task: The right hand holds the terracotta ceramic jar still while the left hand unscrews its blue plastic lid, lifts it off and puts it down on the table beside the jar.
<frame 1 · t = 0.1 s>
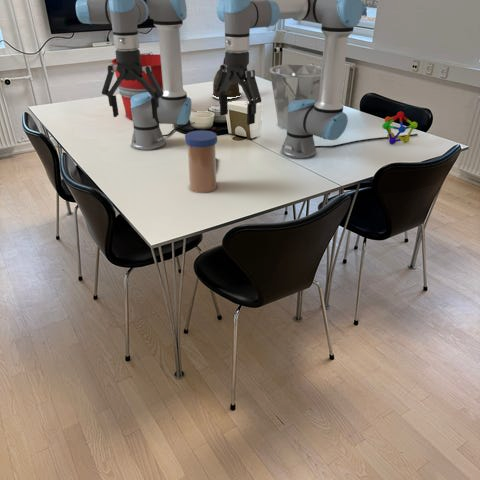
left hand: (135, 116, 150), 28 cm above the table, tool pointing down, fingers open, 13 cm apart
right hand: (237, 119, 148), 28 cm above the table, tool pointing down, fingers open, 13 cm apart
educational toy: (395, 143, 211), on the table
bell: (226, 97, 281), on the table
smartphone: (207, 166, 186), on the table
bucket: (295, 125, 233), on the table
jar: (203, 187, 168), on the table
lid: (201, 136, 158), point 20 cm above the table, screwed on, not yet turned
bucket 2: (148, 114, 248), on the table
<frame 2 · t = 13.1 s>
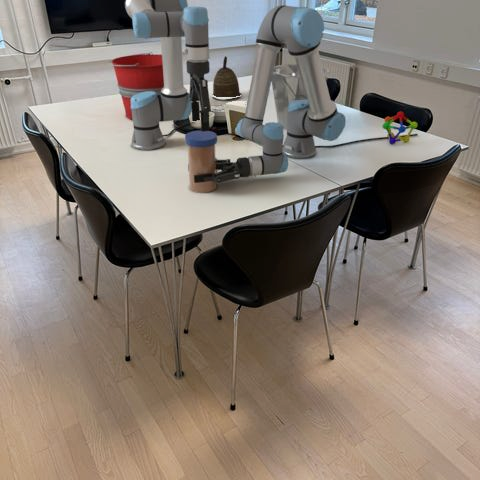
left hand: (200, 125, 156), 24 cm above the table, tool pointing down, fingers open, 12 cm apart
right hand: (191, 173, 164), 6 cm above the table, tool horizontal, fingers closed on jar, 10 cm apart
jar: (203, 187, 168), on the table, touching right hand
everything else where it was.
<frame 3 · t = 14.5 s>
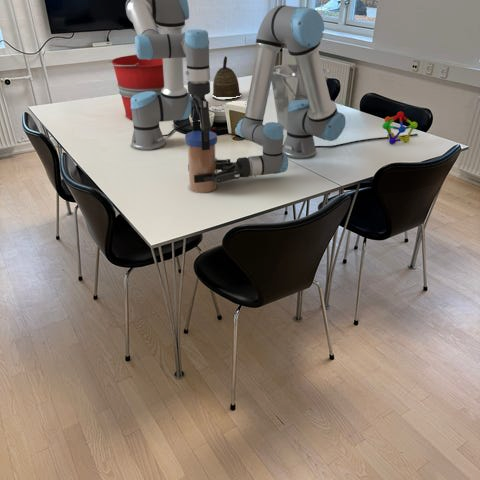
left hand: (201, 144, 159), 17 cm above the table, tool pointing down, fingers closed on lid, 11 cm apart
right hand: (191, 173, 164), 6 cm above the table, tool horizontal, fingers closed on jar, 10 cm apart
jar: (203, 187, 168), on the table, touching right hand
lid: (201, 136, 158), point 20 cm above the table, screwed on, not yet turned, touching left hand
everything else where it was.
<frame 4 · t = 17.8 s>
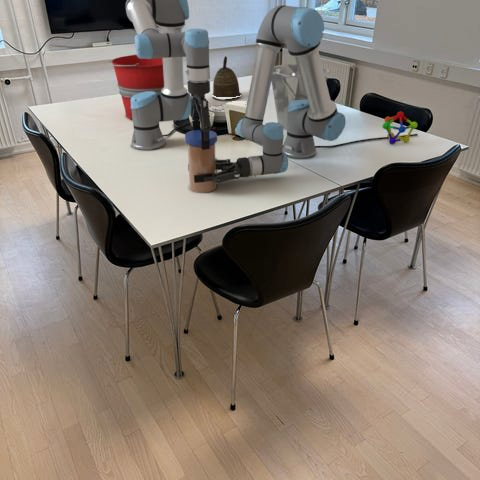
left hand: (201, 143, 159), 17 cm above the table, tool pointing down, fingers closed on lid, 11 cm apart
right hand: (191, 173, 164), 6 cm above the table, tool horizontal, fingers closed on jar, 10 cm apart
jar: (203, 187, 168), on the table, touching right hand
lid: (201, 135, 158), point 20 cm above the table, turned 103° so far, risen 0.3 cm, still on its thread, touching left hand
everything else where it was.
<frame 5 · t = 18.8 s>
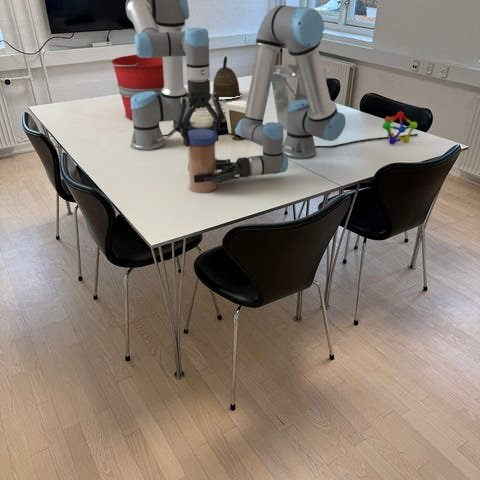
left hand: (201, 142, 159), 17 cm above the table, tool pointing down, fingers closed on lid, 11 cm apart
right hand: (191, 173, 164), 6 cm above the table, tool horizontal, fingers closed on jar, 10 cm apart
jar: (203, 187, 168), on the table, touching right hand
lid: (200, 134, 157), point 20 cm above the table, off its thread, touching left hand
everything else where it was.
when the left hand's fingers open (1 cm above the table, at t = 24.6 s): lid drops 2 cm, point 2 cm above the table.
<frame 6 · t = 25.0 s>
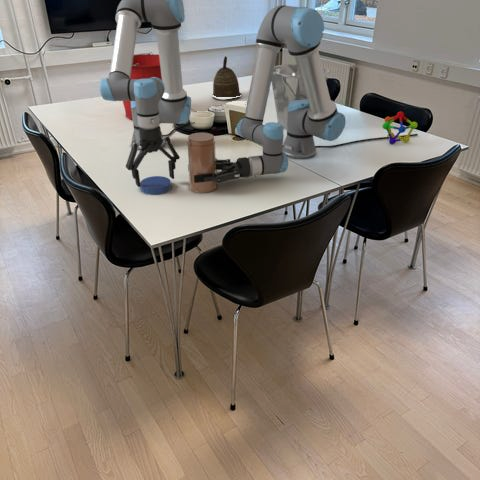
left hand: (155, 181, 166), 2 cm above the table, tool pointing down, fingers open, 13 cm apart
right hand: (191, 173, 164), 6 cm above the table, tool horizontal, fingers closed on jar, 10 cm apart
jar: (203, 187, 168), on the table, touching right hand
lid: (155, 183, 166), point 2 cm above the table, off its thread
everything else where it was.
when the right hand's fingers open (6 cm above the table, at t = 25.6 s): jar stays where it is, on the table.
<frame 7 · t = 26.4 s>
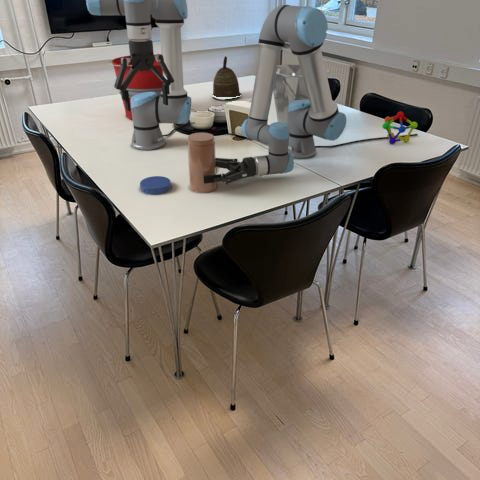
left hand: (147, 107, 151), 30 cm above the table, tool pointing down, fingers open, 13 cm apart
right hand: (199, 172, 165), 6 cm above the table, tool horizontal, fingers open, 13 cm apart
jar: (203, 187, 168), on the table
everything else where it was.
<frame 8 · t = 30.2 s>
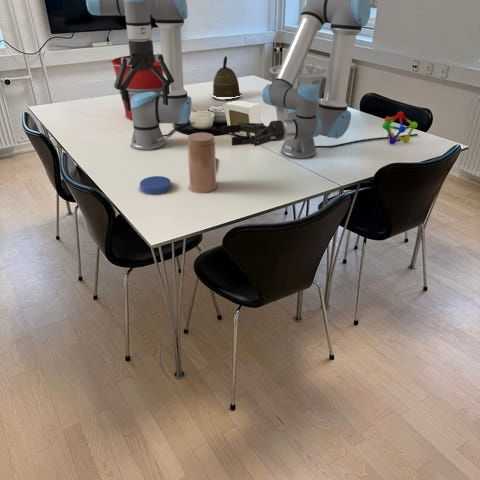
left hand: (147, 107, 151), 30 cm above the table, tool pointing down, fingers open, 13 cm apart
right hand: (226, 135, 160), 19 cm above the table, tool horizontal, fingers open, 13 cm apart
nothing on the table moved.
at the end: lid came off its thread; lid point 2.0 cm above the table; the left hand is holding nothing; the right hand is holding nothing; jar tilted 0°; jar moved 0.0 cm from its start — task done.
